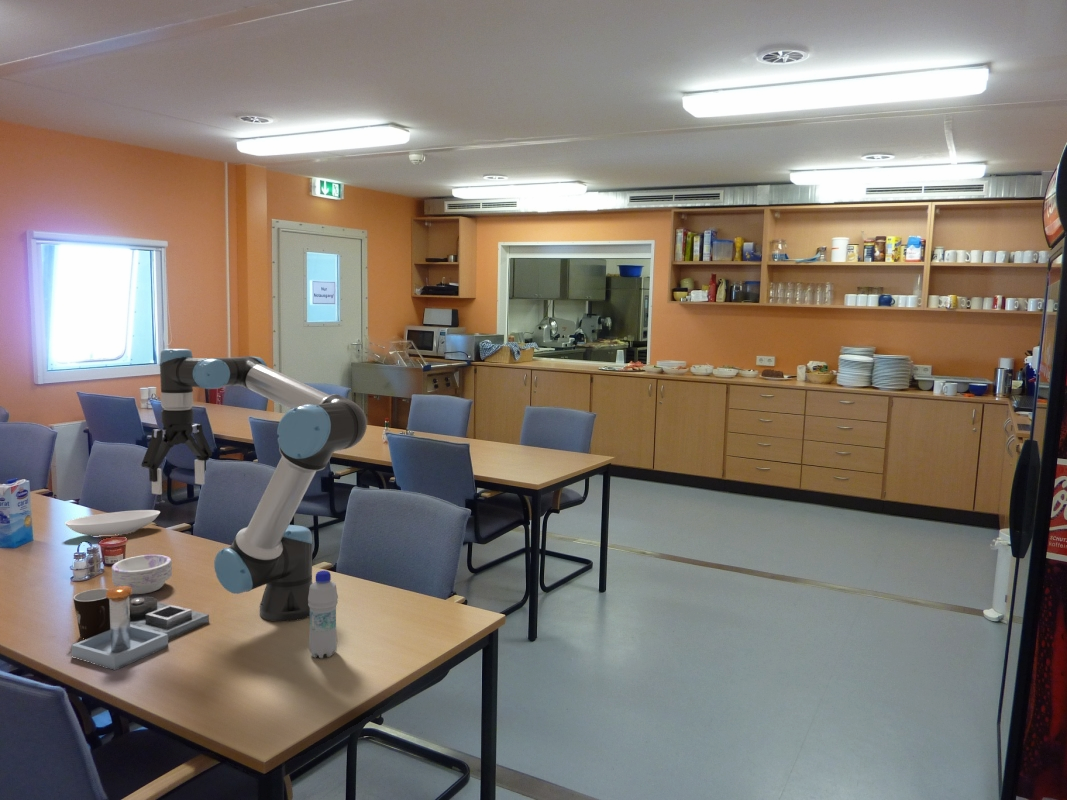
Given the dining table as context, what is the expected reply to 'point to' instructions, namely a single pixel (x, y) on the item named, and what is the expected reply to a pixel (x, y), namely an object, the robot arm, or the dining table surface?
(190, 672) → the dining table surface
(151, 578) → the paper bowls
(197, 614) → the plate
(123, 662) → the tray
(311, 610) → the bottle
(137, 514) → the bowl
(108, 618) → the coffee mug
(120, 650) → the pin
